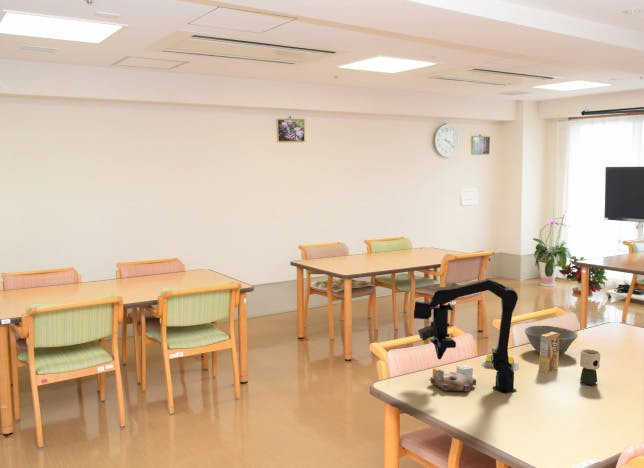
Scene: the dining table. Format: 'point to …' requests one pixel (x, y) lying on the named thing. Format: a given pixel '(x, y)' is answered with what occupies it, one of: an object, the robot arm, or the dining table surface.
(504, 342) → the robot arm
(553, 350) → the candy box
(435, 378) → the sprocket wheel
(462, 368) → the grey small block
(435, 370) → the index pointer
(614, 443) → the dining table surface
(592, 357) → the character mug
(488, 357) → the emergency button
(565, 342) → the ceramic bowl
